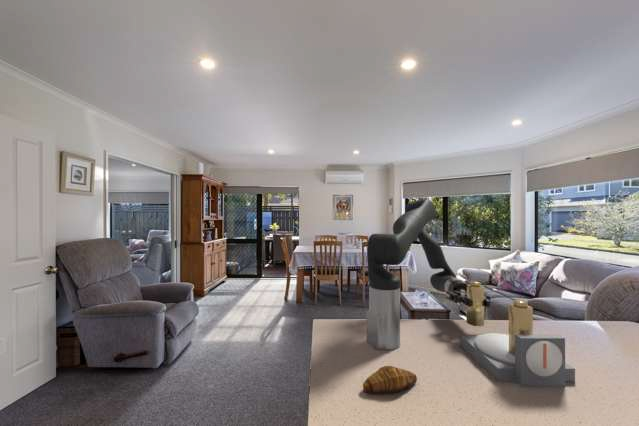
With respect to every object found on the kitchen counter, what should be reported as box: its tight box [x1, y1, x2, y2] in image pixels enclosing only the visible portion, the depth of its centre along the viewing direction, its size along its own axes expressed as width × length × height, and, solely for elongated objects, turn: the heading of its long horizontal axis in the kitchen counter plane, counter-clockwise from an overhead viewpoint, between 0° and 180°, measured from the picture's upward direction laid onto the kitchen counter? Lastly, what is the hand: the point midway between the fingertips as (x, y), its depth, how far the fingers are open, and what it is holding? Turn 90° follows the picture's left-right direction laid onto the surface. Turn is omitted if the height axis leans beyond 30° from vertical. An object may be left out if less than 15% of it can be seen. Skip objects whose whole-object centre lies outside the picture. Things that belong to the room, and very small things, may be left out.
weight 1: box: [466, 280, 485, 327], centre depth 92 cm, size 5×5×13 cm
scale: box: [460, 332, 576, 388], centre depth 75 cm, size 18×21×11 cm
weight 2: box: [508, 299, 534, 356], centre depth 73 cm, size 5×5×13 cm
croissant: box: [362, 365, 418, 394], centre depth 65 cm, size 14×7×5 cm, turn 108°
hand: (479, 303), depth 90 cm, fingers closed on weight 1, 5 cm apart
